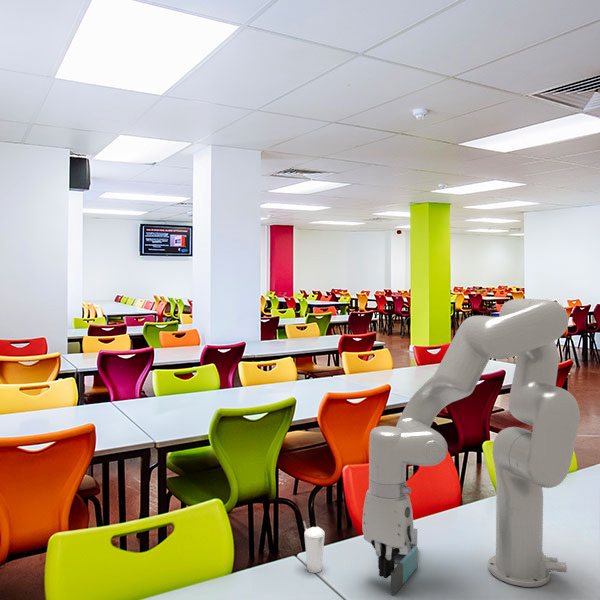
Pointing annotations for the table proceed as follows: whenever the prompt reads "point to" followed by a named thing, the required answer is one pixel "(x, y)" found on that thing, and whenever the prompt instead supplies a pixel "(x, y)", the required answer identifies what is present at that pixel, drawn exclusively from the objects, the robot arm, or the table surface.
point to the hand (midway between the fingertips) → (386, 574)
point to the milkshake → (314, 548)
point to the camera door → (404, 570)
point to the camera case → (413, 543)
